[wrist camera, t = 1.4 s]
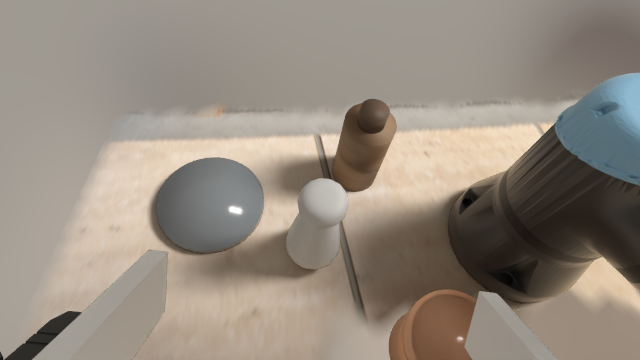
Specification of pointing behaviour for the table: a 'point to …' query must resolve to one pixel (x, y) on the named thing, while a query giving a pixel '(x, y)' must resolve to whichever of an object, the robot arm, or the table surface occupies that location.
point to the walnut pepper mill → (363, 144)
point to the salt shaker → (317, 224)
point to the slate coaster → (210, 205)
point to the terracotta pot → (434, 328)
